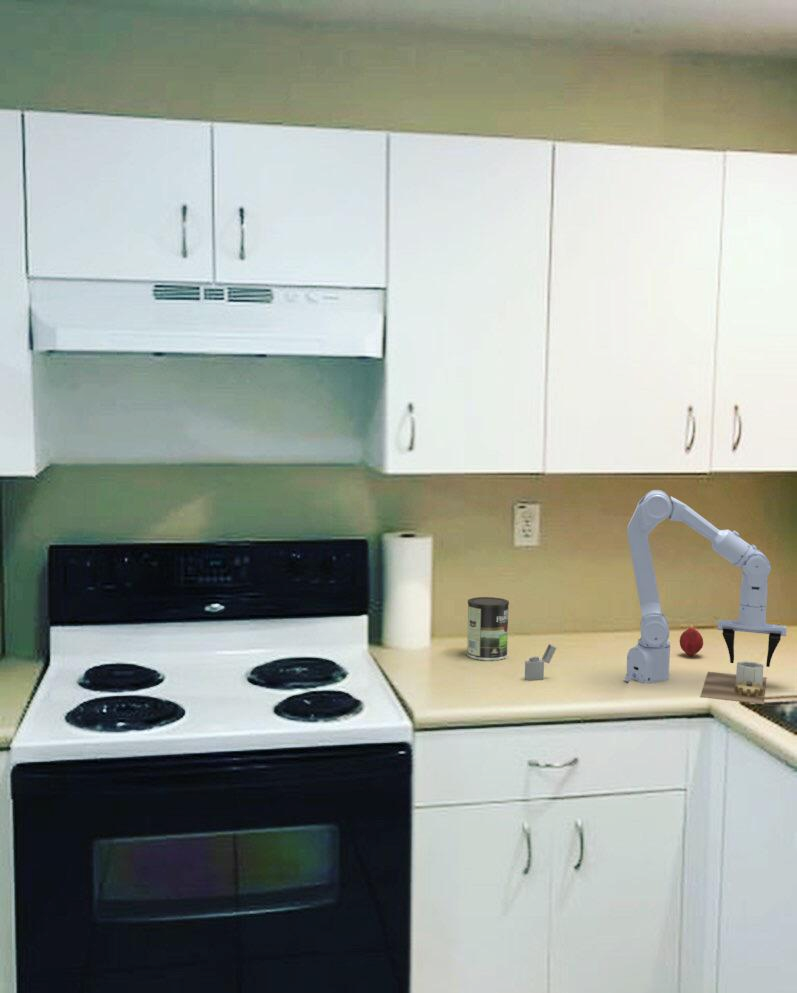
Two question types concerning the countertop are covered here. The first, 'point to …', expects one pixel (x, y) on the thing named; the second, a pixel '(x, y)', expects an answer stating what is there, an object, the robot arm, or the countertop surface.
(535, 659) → the lighter
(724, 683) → the gear board
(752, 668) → the hollow cylinder
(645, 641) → the robot arm
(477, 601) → the coffee can
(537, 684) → the countertop surface
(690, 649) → the onion
